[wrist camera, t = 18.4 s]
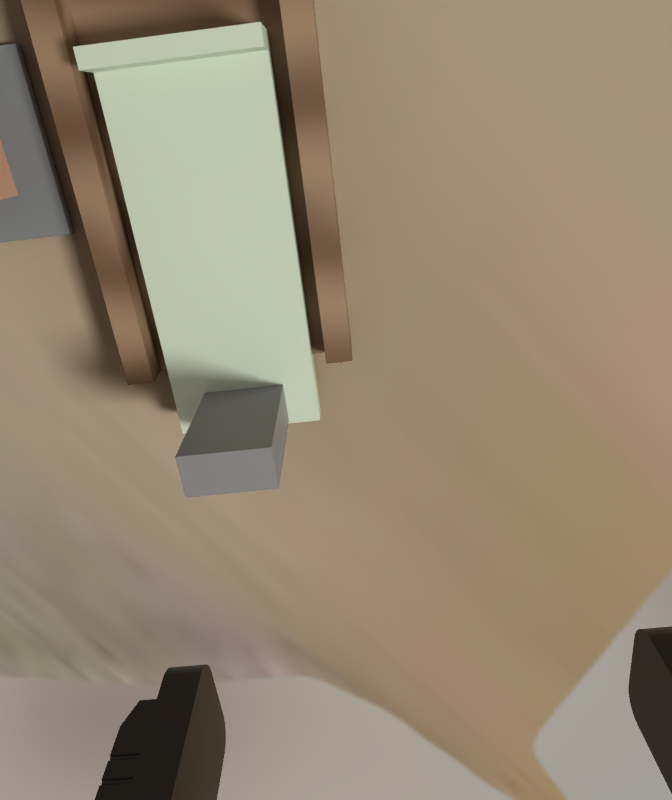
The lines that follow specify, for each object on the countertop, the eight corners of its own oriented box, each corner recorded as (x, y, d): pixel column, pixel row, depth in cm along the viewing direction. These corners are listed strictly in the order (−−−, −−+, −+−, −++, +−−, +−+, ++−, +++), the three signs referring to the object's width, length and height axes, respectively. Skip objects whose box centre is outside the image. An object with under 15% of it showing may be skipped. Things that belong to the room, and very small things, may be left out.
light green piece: (97, 52, 32) (13, 32, 24) (267, 30, 32) (243, 1, 24) (187, 424, 42) (150, 504, 33) (320, 410, 41) (316, 488, 33)
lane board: (-16, -232, 29) (-56, -271, 26) (282, -279, 28) (276, -323, 25) (142, 365, 41) (128, 384, 38) (351, 342, 41) (352, 360, 38)
